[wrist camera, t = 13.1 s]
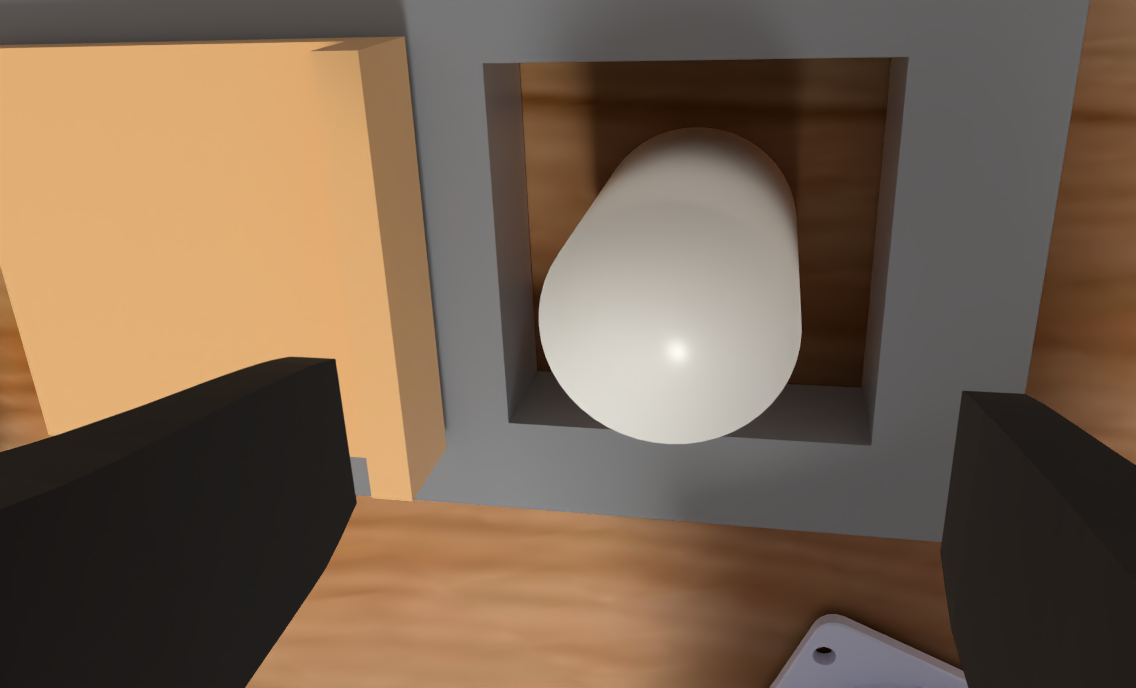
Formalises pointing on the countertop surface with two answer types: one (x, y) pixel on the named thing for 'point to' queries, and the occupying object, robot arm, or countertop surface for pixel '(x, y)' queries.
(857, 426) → the socket plate
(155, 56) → the panel
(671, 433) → the plug
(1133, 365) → the countertop surface
